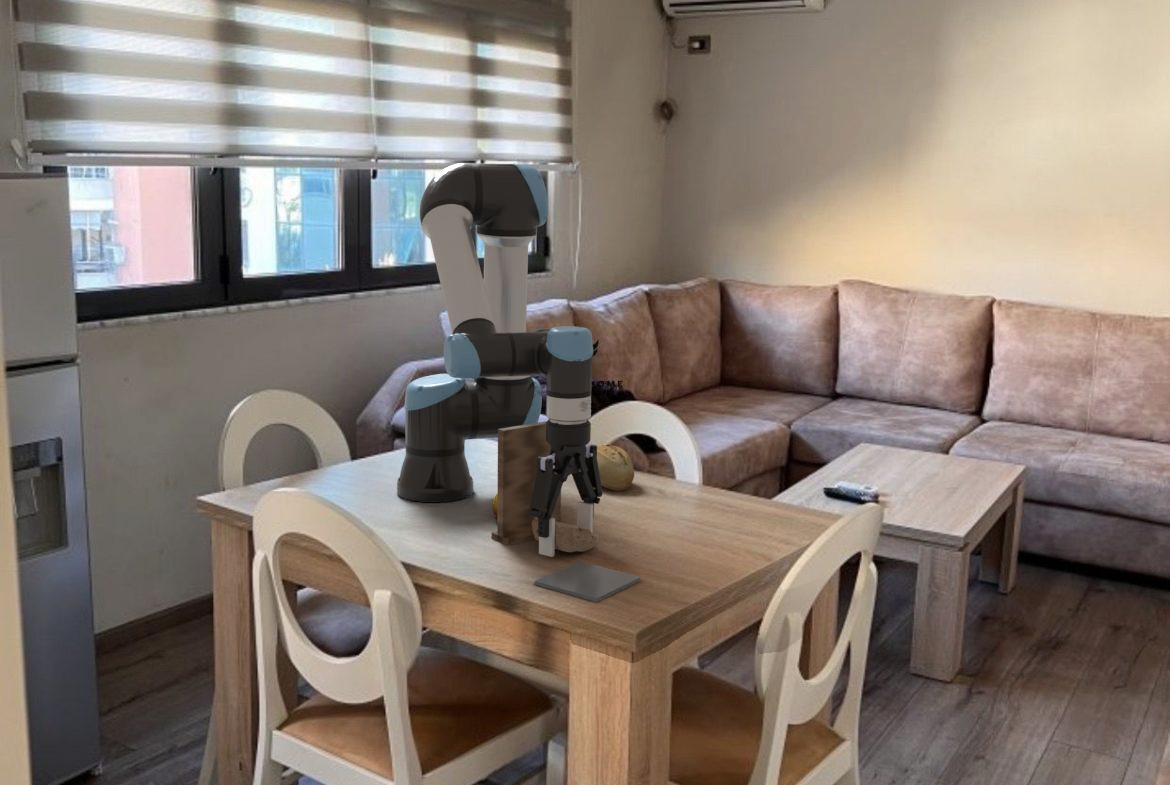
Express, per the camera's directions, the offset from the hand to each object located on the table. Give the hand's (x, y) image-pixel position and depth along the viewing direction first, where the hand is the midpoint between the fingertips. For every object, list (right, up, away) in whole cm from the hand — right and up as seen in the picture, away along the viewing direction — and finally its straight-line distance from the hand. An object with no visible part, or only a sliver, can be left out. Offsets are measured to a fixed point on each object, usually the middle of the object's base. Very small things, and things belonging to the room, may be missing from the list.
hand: (566, 546), depth 201 cm
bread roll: (+8, +7, +43) cm, 45 cm away
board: (-7, +1, +9) cm, 11 cm away
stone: (-1, 0, 0) cm, 1 cm away
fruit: (-9, +3, +19) cm, 21 cm away
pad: (+4, -4, -15) cm, 16 cm away
